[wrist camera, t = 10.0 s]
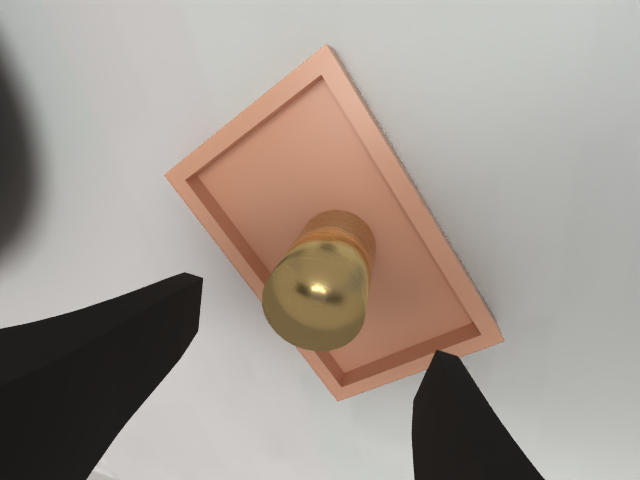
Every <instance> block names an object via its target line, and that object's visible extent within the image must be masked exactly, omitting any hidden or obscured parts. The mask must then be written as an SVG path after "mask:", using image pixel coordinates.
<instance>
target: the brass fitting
mask: <svg viewBox="0 0 640 480" xmlns="http://www.w3.org/2000/svg"><path fill="white" fill-rule="evenodd" d="M375 252H376V242H375V238H374V235H373V233H372V231H371V229H370V227H369V226H368V225H367V224H366V223H365V222H364V221H363V220H362V219H361V218H360V217H358V216H356V215H355V214H352V213H350V212H347V211H342V210H329V211H325V212H322V213H320V214H318V215H316V216H314V217H313V218H312V219H311V220H310V221H309V222H308V223H307V224H306V226H305V227H304V229H303V230H302V231H301V233H300V234H299V236H298V237H297V238H296V240H295V241H294V243H293V244H292V245H291V247H290V248H289V250H288V251H287V253H286V254H285V255H284V257H283V258H282V260H281V261H280V262H279V264H278V265H277V267H276V268H275V269H274V271H273V272H272V274H271V275H270V276H269V278H268V280H267V281H266V283H265V286H264V288H263V293H262V306H263V311H264V314H265V316H266V319H267V320H268V322H269V324H270V325H271V327H272V328H273V329H274V330H275V332H276V333H277V334H278V335H279V336H281V337H282V338H283V339H284V340H286V341H287V342H289V343H291V344H293V345H295V346H297V347H300V348H302V349H306V350H310V351H330V350H335V349H338V348H341V347H343V346H345V345H347V344H348V343H350V342H351V341H352V340H353V339H354V338H355V337H356V336H357V335H358V334H359V332H360V330H361V329H362V326H363V324H364V320H365V315H366V308H367V302H368V296H369V290H370V283H371V277H372V271H373V265H374V259H375Z"/></svg>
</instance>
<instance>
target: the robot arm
mask: <svg viewBox="0 0 640 480" xmlns="http://www.w3.org/2000/svg"><path fill="white" fill-rule="evenodd" d="M202 284H203V278H201V277H198V276H195V275H192V274H188V273H185V272H184V273H181V274H178V275H175V276H172V277H170V278H167V279H164V280H162V281H159V282H156V283H154V284H151V285H149V286H146V287H143V288H141V289H138V290H135V291H133V292H130V293H127V294H125V295H122V296H119V297H116V298H113V299H110V300H107V301H104V302H101V303H98V304H95V305H92V306H89V307H86V308H83V309H80V310H77V311H73V312H70V313H66V314H63V315H59V316H55V317H51V318H47V319H43V320H39V321H36V322H31V323H27V324H22V325H17V326H12V327H7V328H2V329H0V480H86V479H87V478H88V476H89V475H90V473H91V472H92V470H93V469H94V467H95V466H96V465H97V463H98V462H99V460H100V459H101V457H102V456H103V454H104V453H105V452H106V450H107V449H108V447H109V446H110V444H111V443H112V442H113V440H114V439H115V437H116V436H117V434H118V433H119V432H120V431H121V429H122V428H123V427H124V426H125V424H126V423H127V422H128V420H129V419H130V418H131V417H132V416H133V414H134V413H135V412H136V411H137V410H138V409H139V407H140V406H141V405H142V404H143V403H144V401H145V400H146V399H147V398H148V397H149V395H150V394H151V393H152V392H153V391H154V390H155V388H156V387H157V386H158V385H159V384H160V382H161V381H162V380H163V379H164V378H165V377H166V375H167V374H168V373H169V372H170V371H171V369H172V368H173V367H174V366H175V364H176V363H177V362H178V361H179V360H180V358H181V357H182V355H183V354H184V352H185V351H186V349H187V348H188V346H189V345H190V343H191V342H192V340H193V338H194V337H195V335H196V333H197V332H198V327H199V316H200V305H201V295H202ZM412 449H413V464H414V478H415V480H545V479H544V478H543V477H542V476H541V475H540V473H539V472H538V471H537V470H536V468H535V467H534V466H533V464H532V463H531V462H530V461H529V459H528V458H527V457H526V455H525V454H524V453H523V451H522V450H521V449H520V447H519V446H518V445H517V443H516V442H515V441H514V439H513V438H512V437H511V435H510V434H509V432H508V431H507V430H506V428H505V427H504V425H503V424H502V423H501V421H500V420H499V418H498V417H497V415H496V414H495V412H494V411H493V409H492V408H491V406H490V405H489V403H488V402H487V400H486V399H485V397H484V396H483V394H482V393H481V391H480V390H479V388H478V386H477V385H476V383H475V382H474V380H473V379H472V377H471V375H470V374H469V372H468V371H467V369H466V368H465V366H464V365H463V363H462V362H461V360H460V359H459V357H458V356H456V355H453V354H450V353H446V352H443V351H440V350H437V349H436V351H435V354H434V356H433V358H432V360H431V363H430V365H429V367H428V369H427V371H426V374H425V376H424V378H423V380H422V382H421V385H420V387H419V389H418V391H417V394H416V396H415V398H414V401H413V417H412Z"/></svg>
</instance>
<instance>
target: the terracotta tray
mask: <svg viewBox="0 0 640 480" xmlns="http://www.w3.org/2000/svg"><path fill="white" fill-rule="evenodd" d="M164 176H165V177H166V178H167V180H168V181H169V182H170V184H171V185H172V186H173V187H174V189H175V190H176V191H177V193H178V194H179V195H180V197H181V198H182V199H183V200H184V202H185V203H186V204H187V206H188V207H189V208H190V210H191V211H192V212H193V214H194V215H195V216H196V217H197V219H198V220H199V221H200V223H201V224H202V225H203V227H204V228H205V229H206V230H207V232H208V233H209V234H210V236H211V237H212V238H213V240H214V241H215V242H216V243H217V245H218V246H219V247H220V249H221V250H222V251H223V253H224V254H225V255H226V257H227V258H228V259H229V260H230V262H231V263H232V264H233V266H234V267H235V268H236V270H237V271H238V272H239V273H240V275H241V276H242V277H243V279H244V280H245V281H246V283H247V284H248V285H249V287H250V288H251V289H252V290H253V292H254V293H255V294H256V296H257V297H258V298H259V300H260V301H261V302H262V293H263V288H264V286H265V283H266V281H267V280H268V278H269V276H270V275H271V274H272V272H273V271H274V269H275V268H276V267H277V265H278V264H279V262H280V261H281V260H282V258H283V257H284V255H285V254H286V253H287V251H288V250H289V248H290V247H291V245H292V244H293V243H294V241H295V240H296V238H297V237H298V236H299V234H300V233H301V231H302V230H303V229H304V227H305V226H306V224H307V223H308V222H309V221H310V220H311V219H312V218H313V217H314V216H316V215H318V214H320V213H322V212H325V211H329V210H342V211H347V212H350V213H352V214H355V215H356V216H358V217H360V218H361V219H362V220H363V221H364V222H365V223H366V224H367V225H368V226H369V227H370V229H371V231H372V233H373V235H374V238H375V242H376V252H375V259H374V265H373V271H372V277H371V283H370V290H369V296H368V302H367V308H366V315H365V320H364V324H363V326H362V329H361V330H360V332H359V334H358V335H357V336H356V337H355V338H354V339H353V340H352V341H351V342H350V343H348V344H347V345H345V346H343V347H341V348H338V349H335V350H330V351H310V350H306V349H302V348H300V347H297V346H296V348H297V349H298V350H299V352H300V353H301V354H302V356H303V357H304V358H305V359H306V361H307V362H308V363H309V365H310V366H311V367H312V369H313V370H314V371H315V373H316V374H317V375H318V376H319V378H320V379H321V380H322V382H323V383H324V384H325V386H326V387H327V388H328V389H329V391H330V392H331V393H332V395H333V396H334V397H335V399H336V400H337V401H340V400H343V399H346V398H348V397H351V396H354V395H357V394H360V393H362V392H365V391H368V390H371V389H373V388H376V387H379V386H382V385H384V384H387V383H390V382H393V381H396V380H398V379H401V378H404V377H407V376H409V375H412V374H415V373H418V372H421V371H423V370H426V369H428V367H429V365H430V363H431V360H432V358H433V356H434V354H435V351H436V349H437V350H440V351H443V352H446V353H450V354H453V355H456V356H458V357H462V356H465V355H468V354H470V353H473V352H476V351H479V350H482V349H484V348H487V347H490V346H493V345H495V344H498V343H501V342H504V338H503V336H502V334H501V331H500V329H499V326H498V324H497V322H496V320H495V318H494V316H493V315H492V313H491V311H490V309H489V308H488V306H487V304H486V303H485V301H484V299H483V298H482V296H481V294H480V293H479V291H478V289H477V288H476V286H475V284H474V283H473V281H472V279H471V278H470V276H469V274H468V273H467V271H466V269H465V268H464V266H463V264H462V263H461V261H460V259H459V258H458V256H457V254H456V253H455V251H454V249H453V248H452V246H451V244H450V243H449V241H448V239H447V237H446V236H445V234H444V232H443V231H442V229H441V227H440V226H439V224H438V222H437V221H436V219H435V217H434V216H433V214H432V212H431V211H430V209H429V207H428V206H427V204H426V202H425V201H424V199H423V197H422V196H421V194H420V192H419V191H418V189H417V187H416V186H415V184H414V182H413V181H412V179H411V177H410V176H409V174H408V172H407V171H406V169H405V167H404V165H403V164H402V162H401V160H400V159H399V157H398V155H397V154H396V152H395V150H394V149H393V147H392V145H391V144H390V142H389V140H388V139H387V137H386V135H385V134H384V132H383V130H382V129H381V127H380V125H379V124H378V122H377V120H376V119H375V117H374V115H373V114H372V112H371V110H370V109H369V107H368V105H367V104H366V102H365V100H364V99H363V97H362V95H361V93H360V92H359V90H358V88H357V87H356V85H355V83H354V82H353V80H352V78H351V77H350V75H349V73H348V72H347V70H346V68H345V67H344V65H343V63H342V62H341V60H340V58H339V57H338V55H337V53H336V52H335V50H334V48H332V47H330V46H329V45H327V44H326V45H324V46H323V47H322V48H321V49H319V50H318V51H317V52H316V53H314V54H313V55H312V56H311V57H310V58H308V59H307V60H306V61H305V62H303V63H302V64H301V65H300V66H298V67H297V68H296V69H295V70H293V71H292V72H291V73H290V74H289V75H287V76H286V77H285V78H284V79H282V80H281V81H280V82H279V83H277V84H276V85H275V86H274V87H272V88H271V89H270V90H269V91H267V92H266V93H265V94H264V95H263V96H261V97H260V98H259V99H258V100H256V101H255V102H254V103H253V104H251V105H250V106H249V107H248V108H246V109H245V110H244V111H243V112H241V113H240V114H239V115H238V116H237V117H235V118H234V119H233V120H232V121H230V122H229V123H228V124H227V125H225V126H224V127H223V128H222V129H220V130H219V131H218V132H217V133H216V134H214V135H213V136H212V137H211V138H209V139H208V140H207V141H206V142H204V143H203V144H202V145H201V146H199V147H198V148H197V149H196V150H194V151H193V152H192V153H191V154H190V155H188V156H187V157H186V158H185V159H183V160H182V161H181V162H180V163H178V164H177V165H176V166H175V167H173V168H172V169H171V170H170V171H168V172H167V173H166V174H165V175H164Z"/></svg>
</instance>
